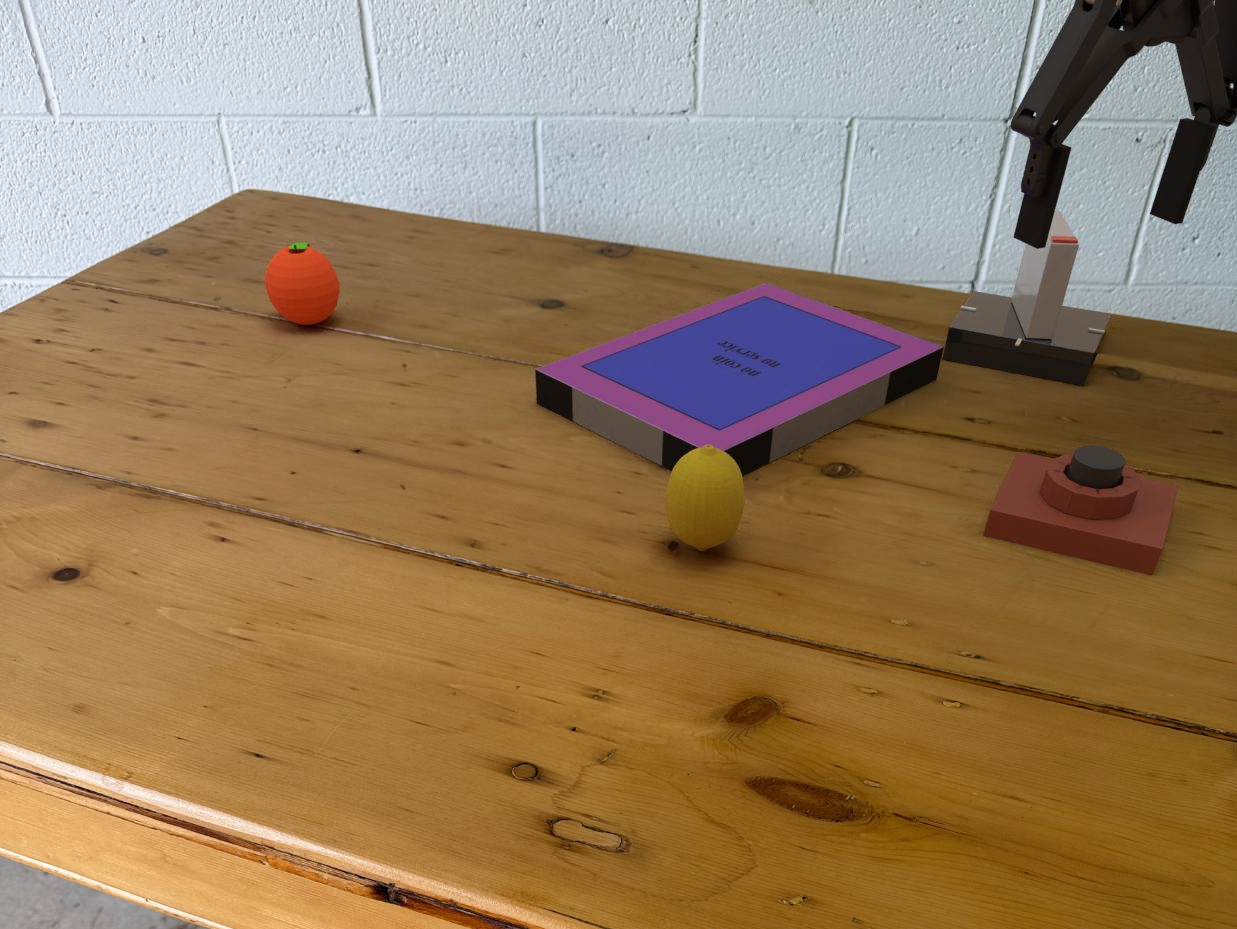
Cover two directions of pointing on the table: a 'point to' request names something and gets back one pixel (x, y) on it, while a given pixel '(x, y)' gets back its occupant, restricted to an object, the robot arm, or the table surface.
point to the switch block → (1082, 514)
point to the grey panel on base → (1045, 280)
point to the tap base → (1024, 340)
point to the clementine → (302, 284)
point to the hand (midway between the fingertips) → (1098, 230)
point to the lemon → (705, 497)
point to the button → (1096, 467)
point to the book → (738, 378)
